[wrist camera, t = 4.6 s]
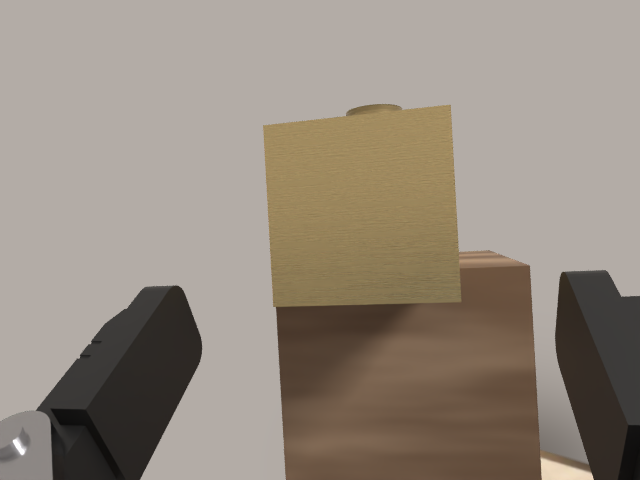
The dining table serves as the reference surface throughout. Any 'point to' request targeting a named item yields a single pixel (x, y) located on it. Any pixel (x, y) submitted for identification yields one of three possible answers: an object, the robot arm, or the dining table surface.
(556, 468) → the dining table surface
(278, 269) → the gold studded block
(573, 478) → the dining table surface
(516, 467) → the stand
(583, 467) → the dining table surface
